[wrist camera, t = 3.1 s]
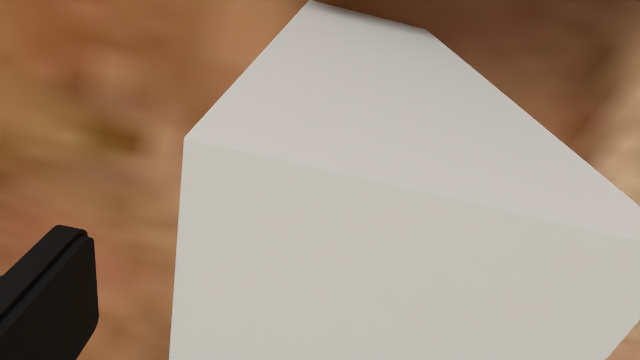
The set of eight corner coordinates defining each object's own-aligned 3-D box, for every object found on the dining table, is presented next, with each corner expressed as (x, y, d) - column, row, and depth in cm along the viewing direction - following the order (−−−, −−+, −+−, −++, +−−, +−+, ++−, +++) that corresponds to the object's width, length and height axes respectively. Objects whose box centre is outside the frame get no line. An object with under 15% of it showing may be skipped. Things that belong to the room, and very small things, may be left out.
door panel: (424, 28, 10) (698, 252, 2) (309, 374, 17) (279, 737, 9) (286, -7, 10) (71, 111, 2) (224, 357, 17) (116, 714, 9)
